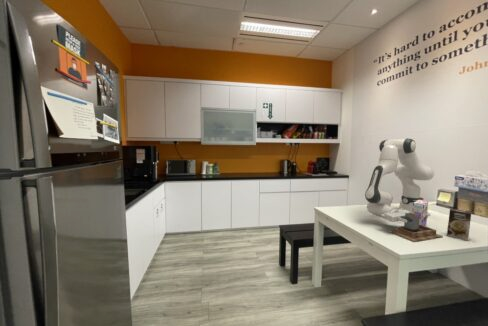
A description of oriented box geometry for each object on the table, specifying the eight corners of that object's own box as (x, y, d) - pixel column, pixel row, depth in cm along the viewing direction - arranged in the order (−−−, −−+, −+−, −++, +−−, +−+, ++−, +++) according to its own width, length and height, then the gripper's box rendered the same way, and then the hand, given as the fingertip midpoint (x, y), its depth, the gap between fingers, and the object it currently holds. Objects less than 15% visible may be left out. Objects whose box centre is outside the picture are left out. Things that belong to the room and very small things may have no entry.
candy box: (421, 229, 140) (424, 204, 138) (410, 226, 144) (412, 202, 143) (426, 224, 149) (428, 201, 147) (416, 222, 153) (418, 199, 152)
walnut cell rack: (417, 228, 140) (417, 222, 140) (442, 237, 127) (443, 230, 127) (390, 232, 133) (390, 226, 133) (414, 242, 120) (414, 235, 119)
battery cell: (409, 231, 132) (411, 211, 131) (418, 234, 127) (420, 213, 126) (403, 232, 130) (405, 211, 129) (412, 235, 125) (414, 214, 124)
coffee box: (446, 236, 129) (449, 209, 128) (447, 233, 134) (449, 207, 132) (468, 241, 123) (471, 213, 121) (468, 237, 127) (471, 211, 126)
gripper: (379, 210, 137) (400, 216, 124) (402, 207, 143) (425, 214, 130) (378, 219, 137) (399, 227, 124) (401, 216, 144) (424, 224, 131)
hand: (413, 220), depth 127 cm, fingers open, 8 cm apart
